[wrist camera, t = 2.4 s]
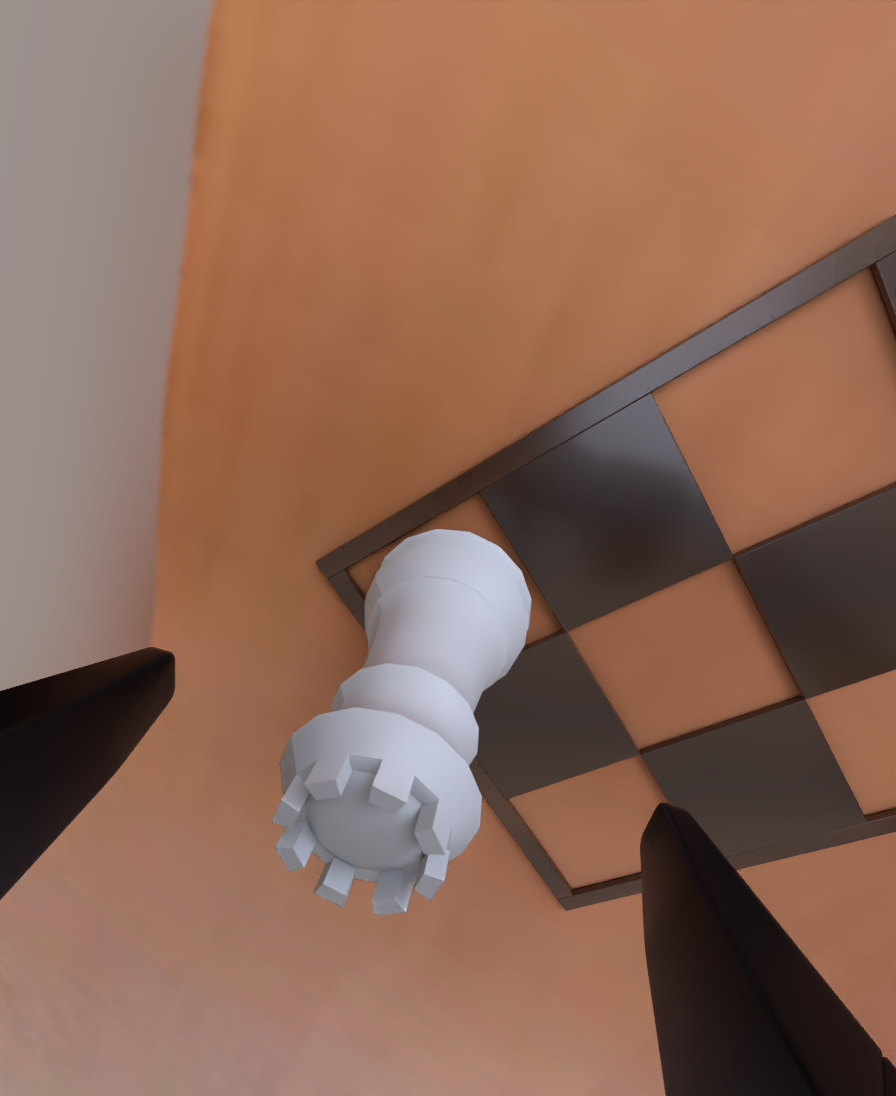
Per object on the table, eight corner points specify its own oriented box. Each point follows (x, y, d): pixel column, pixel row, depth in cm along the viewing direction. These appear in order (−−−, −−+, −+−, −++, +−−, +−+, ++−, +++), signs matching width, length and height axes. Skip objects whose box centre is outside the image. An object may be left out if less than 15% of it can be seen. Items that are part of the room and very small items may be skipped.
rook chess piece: (349, 604, 15) (162, 842, 8) (434, 490, 13) (298, 652, 6) (468, 691, 15) (399, 998, 8) (566, 589, 14) (593, 861, 6)
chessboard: (1094, 776, 13) (1103, 782, 13) (565, 905, 18) (565, 911, 18) (892, 216, 10) (898, 212, 10) (317, 559, 15) (314, 562, 14)
